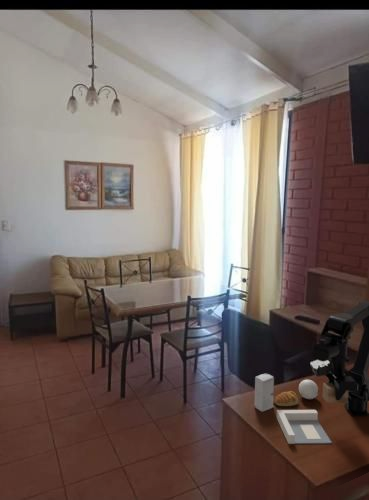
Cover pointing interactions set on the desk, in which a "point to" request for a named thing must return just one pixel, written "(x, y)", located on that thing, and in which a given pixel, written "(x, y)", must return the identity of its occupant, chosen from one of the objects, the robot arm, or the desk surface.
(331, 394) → the walnut block
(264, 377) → the skincare box
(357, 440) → the desk surface
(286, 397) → the pastry
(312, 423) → the corner arena
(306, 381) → the white egg
